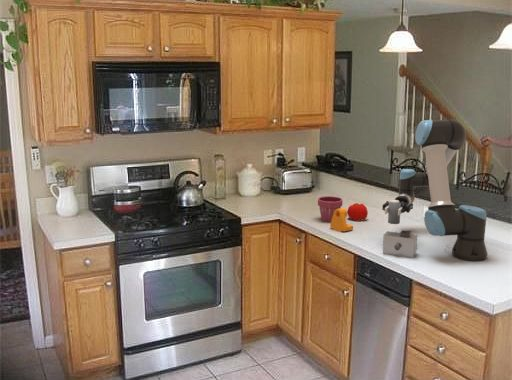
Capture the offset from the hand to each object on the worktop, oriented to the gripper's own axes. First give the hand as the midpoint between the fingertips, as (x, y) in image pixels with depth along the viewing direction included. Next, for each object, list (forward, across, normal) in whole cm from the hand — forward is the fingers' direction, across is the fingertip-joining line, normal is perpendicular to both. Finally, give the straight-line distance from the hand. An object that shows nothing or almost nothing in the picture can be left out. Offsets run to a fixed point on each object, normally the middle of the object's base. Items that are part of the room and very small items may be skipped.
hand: (392, 212), depth 253 cm
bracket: (-21, +31, -18) cm, 42 cm away
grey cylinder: (-5, 0, -6) cm, 8 cm away
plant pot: (-36, +43, -18) cm, 59 cm away
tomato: (-45, +29, -18) cm, 57 cm away
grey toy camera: (+2, -6, -18) cm, 19 cm away
